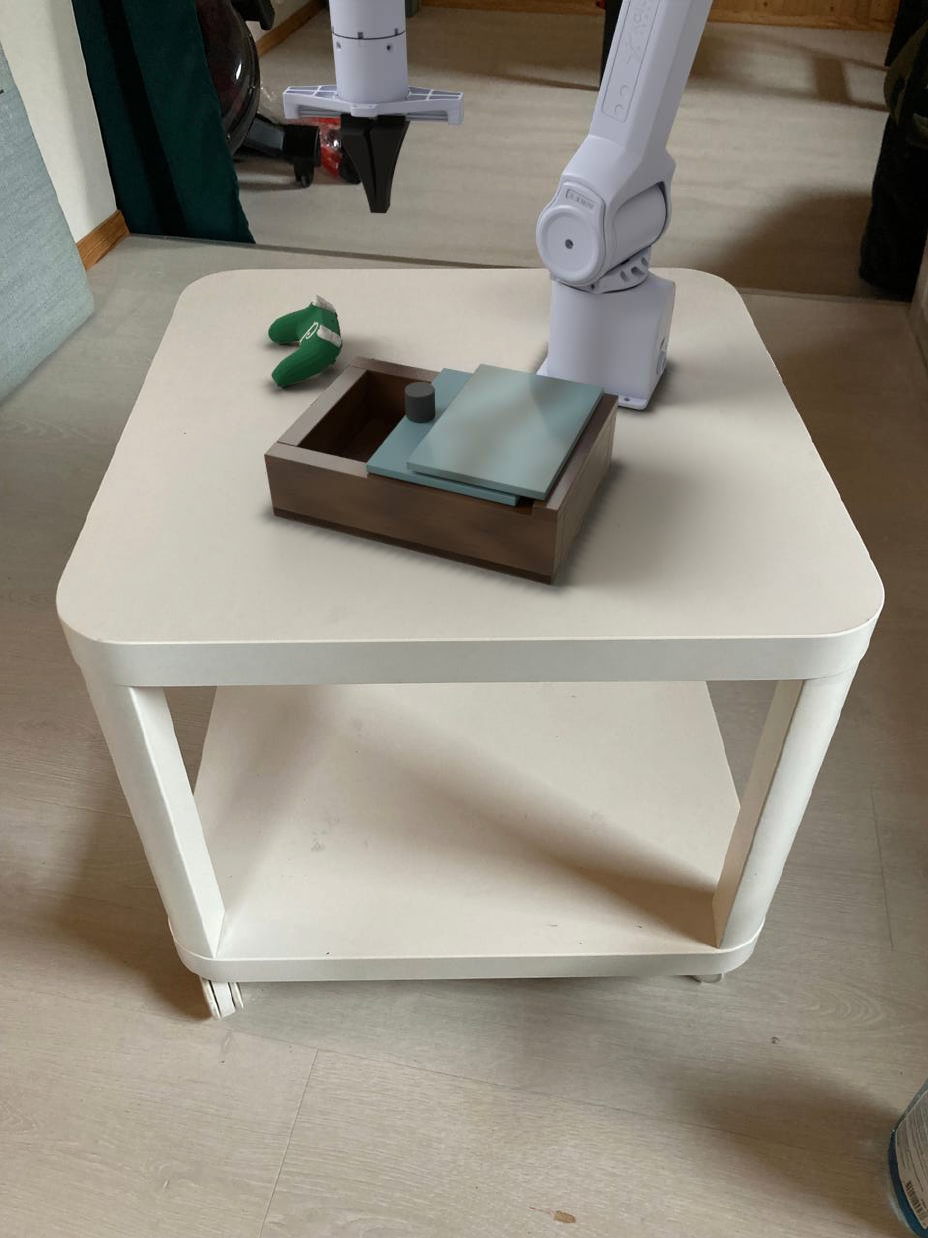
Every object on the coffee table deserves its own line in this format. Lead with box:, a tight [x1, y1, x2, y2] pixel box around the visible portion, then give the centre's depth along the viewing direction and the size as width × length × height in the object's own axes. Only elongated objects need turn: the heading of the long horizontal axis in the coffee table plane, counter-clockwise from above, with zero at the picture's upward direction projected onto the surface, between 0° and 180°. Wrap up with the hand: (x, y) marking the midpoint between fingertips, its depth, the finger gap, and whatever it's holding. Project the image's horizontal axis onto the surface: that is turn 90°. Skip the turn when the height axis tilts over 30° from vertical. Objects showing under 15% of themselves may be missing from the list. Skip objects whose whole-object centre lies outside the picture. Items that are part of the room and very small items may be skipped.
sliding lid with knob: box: [366, 367, 521, 506], centre depth 64 cm, size 10×13×3 cm
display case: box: [263, 355, 619, 586], centre depth 67 cm, size 20×14×7 cm
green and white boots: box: [267, 294, 344, 388], centre depth 81 cm, size 9×4×6 cm
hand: (380, 208), depth 85 cm, fingers closed
